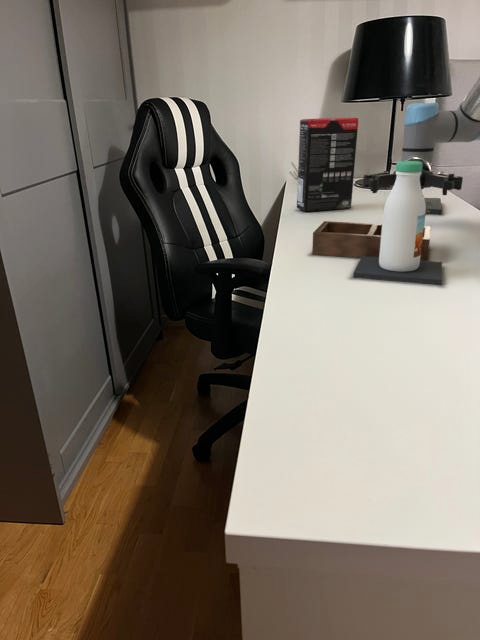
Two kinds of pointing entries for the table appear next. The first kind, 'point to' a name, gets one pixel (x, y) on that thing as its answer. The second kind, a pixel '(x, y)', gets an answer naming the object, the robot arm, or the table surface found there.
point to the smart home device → (433, 206)
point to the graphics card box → (326, 163)
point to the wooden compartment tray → (355, 240)
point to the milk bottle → (403, 220)
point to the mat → (424, 274)
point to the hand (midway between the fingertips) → (409, 187)
